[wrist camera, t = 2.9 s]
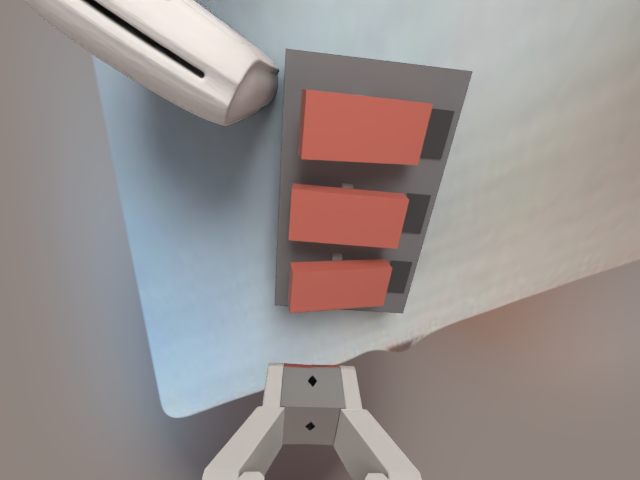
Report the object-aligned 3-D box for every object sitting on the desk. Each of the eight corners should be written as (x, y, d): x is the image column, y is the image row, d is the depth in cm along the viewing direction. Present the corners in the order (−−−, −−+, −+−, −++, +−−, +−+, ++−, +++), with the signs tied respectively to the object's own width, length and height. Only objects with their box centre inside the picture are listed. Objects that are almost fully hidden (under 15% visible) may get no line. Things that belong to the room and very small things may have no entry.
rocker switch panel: (447, 73, 23) (477, 70, 19) (392, 288, 32) (404, 317, 28) (289, 54, 22) (284, 47, 18) (278, 280, 31) (273, 309, 27)
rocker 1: (421, 102, 20) (433, 103, 19) (408, 160, 22) (417, 165, 20) (301, 89, 18) (306, 89, 17) (297, 154, 20) (301, 159, 18)
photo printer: (133, 36, 22) (-54, -17, 10) (154, -29, 20) (-39, -171, 9) (261, 121, 24) (220, 150, 13) (289, 70, 23) (268, 54, 12)
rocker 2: (403, 193, 22) (409, 199, 21) (392, 240, 24) (397, 248, 22) (292, 183, 21) (291, 189, 20) (289, 231, 23) (288, 240, 22)
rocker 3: (385, 259, 25) (392, 267, 24) (376, 295, 27) (383, 305, 26) (290, 262, 23) (293, 272, 22) (287, 301, 25) (290, 313, 24)
